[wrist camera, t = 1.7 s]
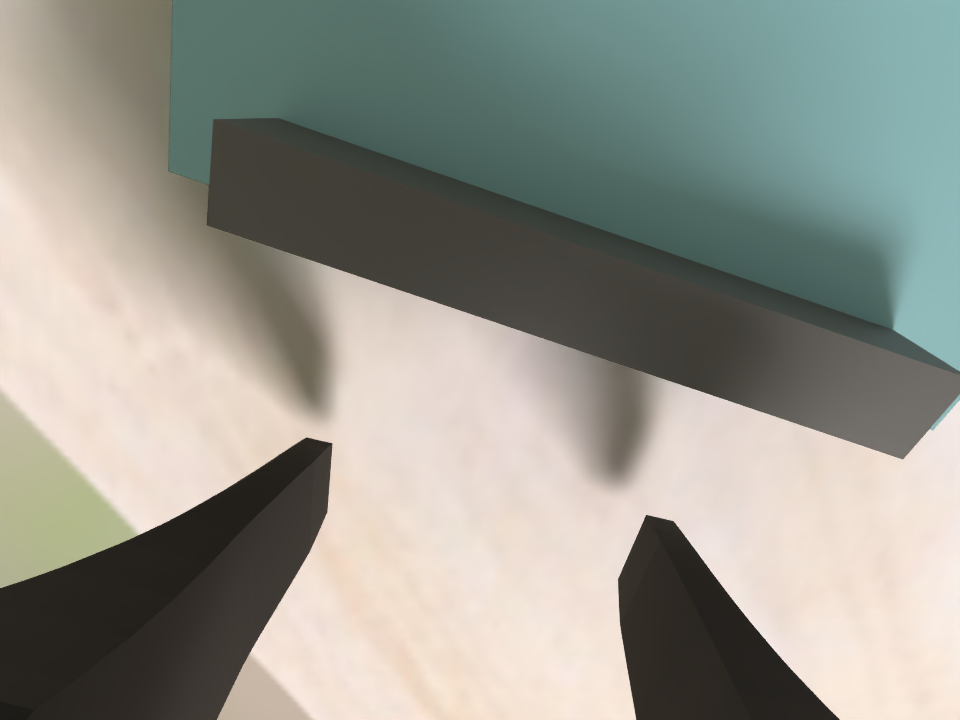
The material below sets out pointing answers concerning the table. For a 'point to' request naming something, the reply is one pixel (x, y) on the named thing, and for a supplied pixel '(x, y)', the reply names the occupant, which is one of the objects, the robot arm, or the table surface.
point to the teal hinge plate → (615, 179)
